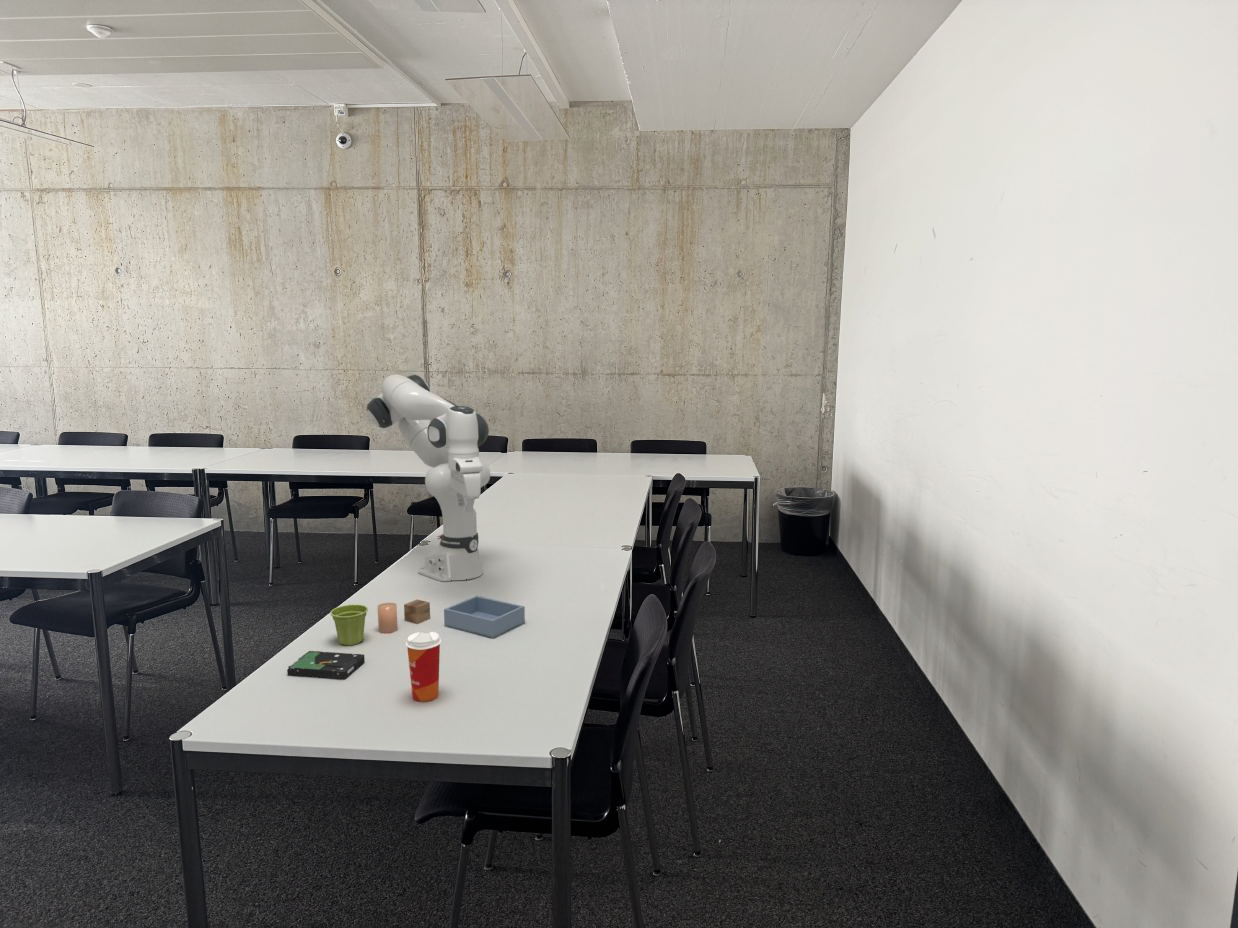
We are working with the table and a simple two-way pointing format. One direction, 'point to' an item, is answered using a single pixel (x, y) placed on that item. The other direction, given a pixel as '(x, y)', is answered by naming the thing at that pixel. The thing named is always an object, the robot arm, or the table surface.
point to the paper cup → (424, 665)
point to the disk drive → (326, 665)
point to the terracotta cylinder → (387, 618)
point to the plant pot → (349, 623)
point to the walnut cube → (417, 611)
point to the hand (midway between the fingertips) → (465, 509)
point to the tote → (484, 616)
